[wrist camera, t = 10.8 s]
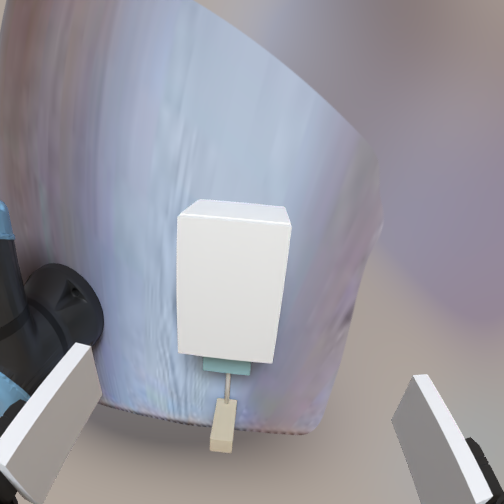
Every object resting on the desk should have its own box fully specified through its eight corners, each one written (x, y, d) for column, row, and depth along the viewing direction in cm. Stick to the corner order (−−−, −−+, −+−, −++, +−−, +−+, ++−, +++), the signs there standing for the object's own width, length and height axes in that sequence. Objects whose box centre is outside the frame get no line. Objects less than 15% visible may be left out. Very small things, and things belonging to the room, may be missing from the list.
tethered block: (208, 409, 48) (200, 449, 40) (211, 308, 42) (198, 346, 34) (244, 413, 48) (240, 454, 40) (255, 313, 42) (253, 352, 33)
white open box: (195, 310, 43) (178, 352, 33) (199, 199, 38) (177, 215, 28) (270, 318, 43) (272, 363, 33) (284, 206, 38) (291, 225, 28)
